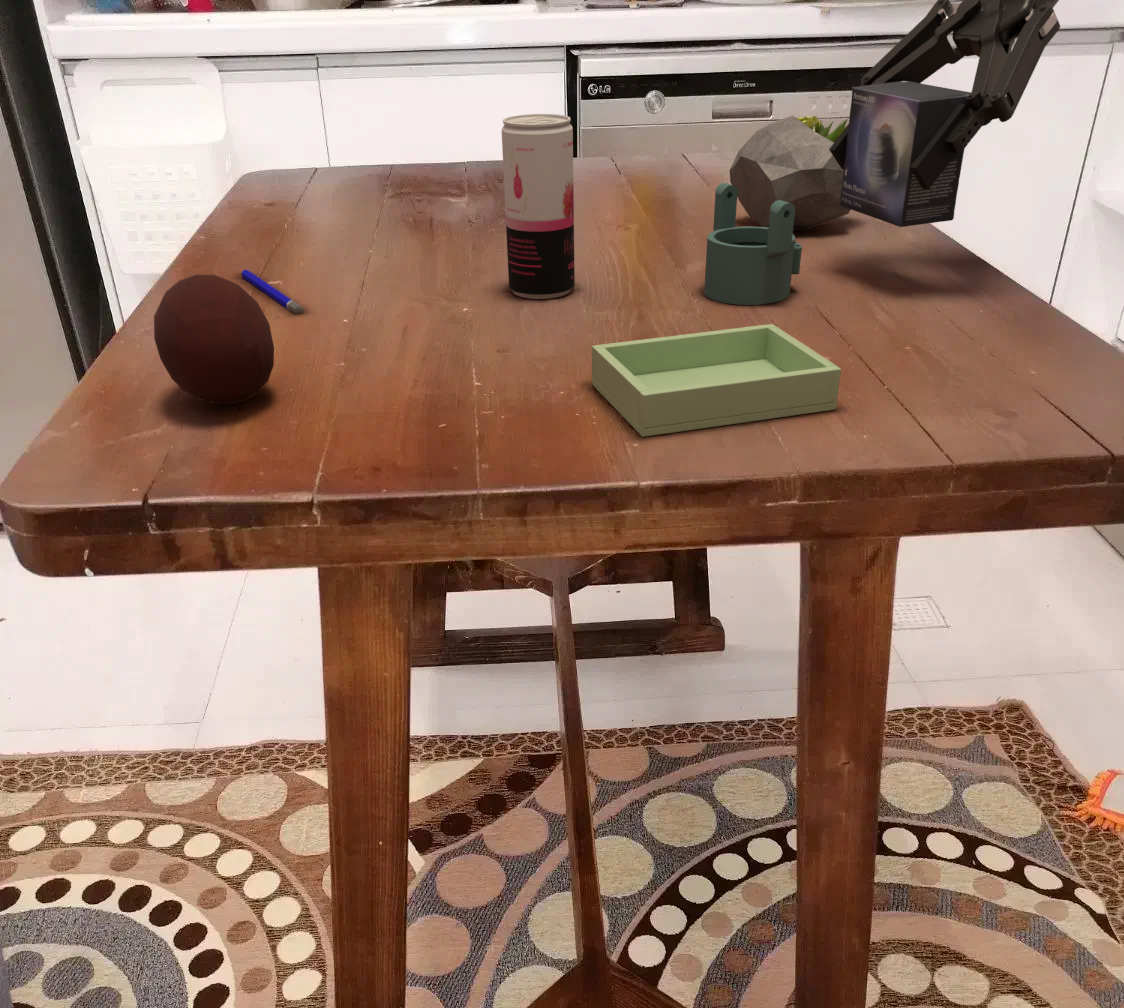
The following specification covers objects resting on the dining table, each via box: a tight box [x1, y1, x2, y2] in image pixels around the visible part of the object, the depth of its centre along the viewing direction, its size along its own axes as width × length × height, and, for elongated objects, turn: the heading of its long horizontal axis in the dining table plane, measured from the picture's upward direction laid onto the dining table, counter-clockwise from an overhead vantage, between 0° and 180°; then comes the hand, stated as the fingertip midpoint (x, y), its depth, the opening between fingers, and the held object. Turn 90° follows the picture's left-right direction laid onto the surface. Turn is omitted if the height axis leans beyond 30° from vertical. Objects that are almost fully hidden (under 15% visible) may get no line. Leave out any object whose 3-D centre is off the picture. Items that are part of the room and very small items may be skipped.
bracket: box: [703, 182, 803, 306], centre depth 105 cm, size 9×9×9 cm
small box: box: [840, 81, 972, 228], centre depth 103 cm, size 11×6×10 cm, turn 22°
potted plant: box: [729, 115, 852, 232], centre depth 125 cm, size 12×13×15 cm
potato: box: [153, 274, 275, 405], centre depth 84 cm, size 9×12×9 cm
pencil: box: [241, 269, 304, 315], centre depth 111 cm, size 17×1×1 cm, turn 31°
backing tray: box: [591, 323, 842, 438], centre depth 84 cm, size 12×16×3 cm
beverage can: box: [501, 113, 576, 300], centre depth 105 cm, size 7×7×15 cm
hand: (876, 169), depth 102 cm, fingers closed on small box, 11 cm apart
